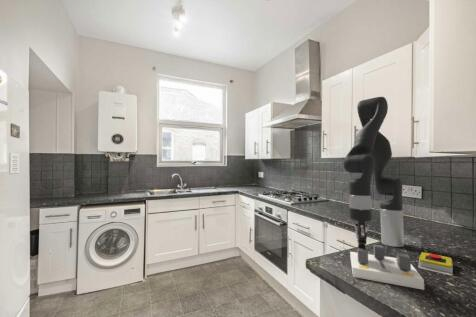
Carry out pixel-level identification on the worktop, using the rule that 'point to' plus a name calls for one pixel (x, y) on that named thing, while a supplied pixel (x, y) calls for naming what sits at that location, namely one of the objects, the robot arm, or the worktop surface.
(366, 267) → the switch panel
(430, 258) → the emergency button
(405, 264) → the switch
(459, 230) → the worktop surface
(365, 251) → the switch
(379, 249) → the switch
